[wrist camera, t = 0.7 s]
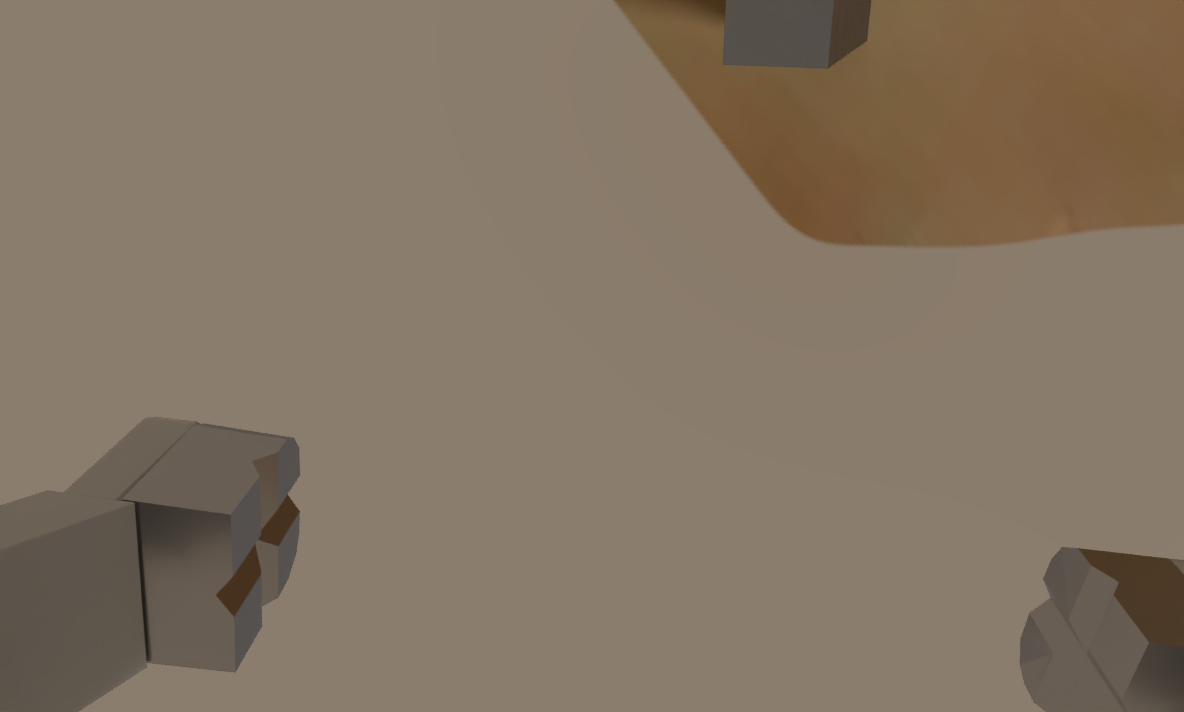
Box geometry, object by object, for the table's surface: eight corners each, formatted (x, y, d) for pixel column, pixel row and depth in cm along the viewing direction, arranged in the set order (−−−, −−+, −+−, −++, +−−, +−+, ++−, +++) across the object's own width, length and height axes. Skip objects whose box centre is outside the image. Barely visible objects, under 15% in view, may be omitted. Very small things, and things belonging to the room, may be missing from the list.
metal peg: (790, -49, 44) (728, -49, 34) (876, -50, 43) (838, -49, 33) (783, 38, 46) (722, 64, 36) (866, 40, 44) (827, 68, 34)
